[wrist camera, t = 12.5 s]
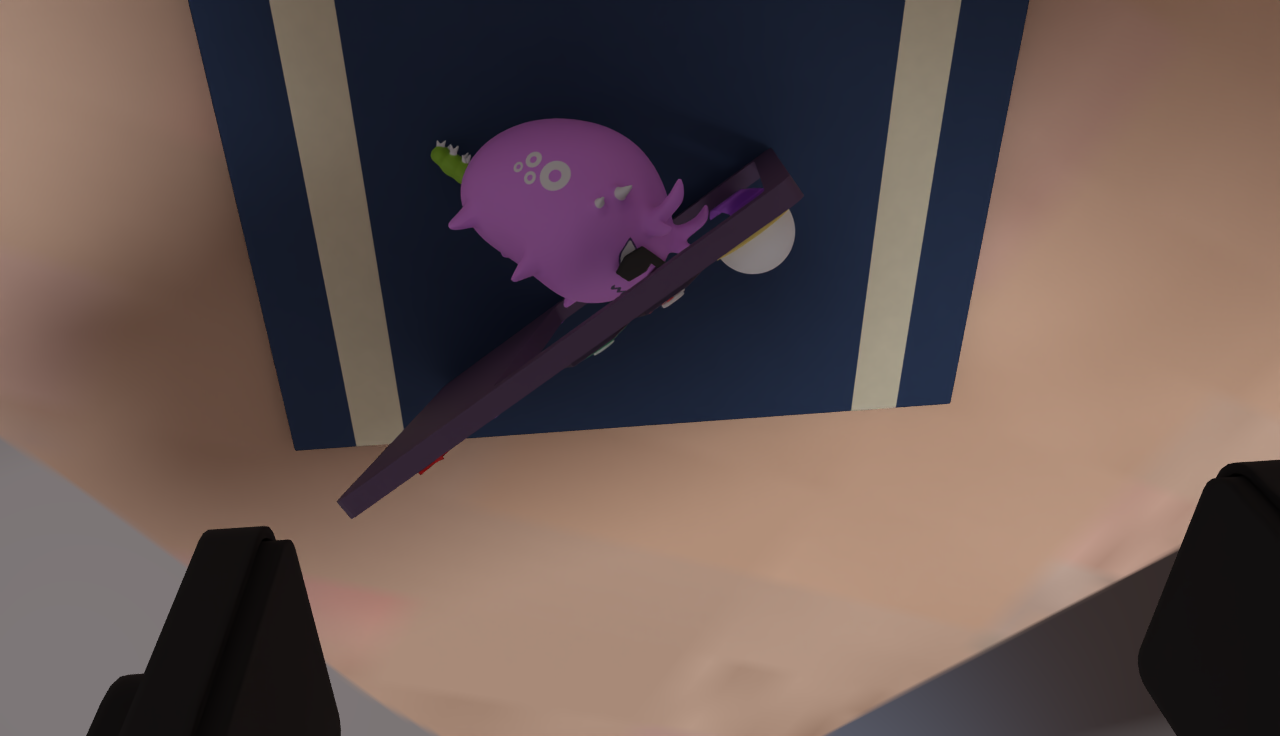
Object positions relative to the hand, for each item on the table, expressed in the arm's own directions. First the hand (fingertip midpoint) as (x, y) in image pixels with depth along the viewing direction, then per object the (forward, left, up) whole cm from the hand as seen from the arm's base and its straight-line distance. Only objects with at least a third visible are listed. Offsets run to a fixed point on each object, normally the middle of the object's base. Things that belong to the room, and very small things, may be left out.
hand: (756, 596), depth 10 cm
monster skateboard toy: (+2, +1, -12) cm, 12 cm away
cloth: (0, 0, -13) cm, 13 cm away
